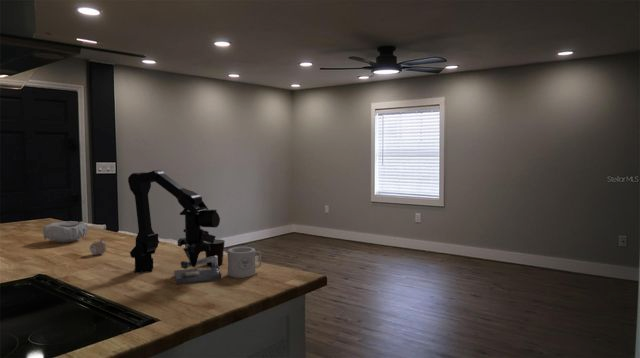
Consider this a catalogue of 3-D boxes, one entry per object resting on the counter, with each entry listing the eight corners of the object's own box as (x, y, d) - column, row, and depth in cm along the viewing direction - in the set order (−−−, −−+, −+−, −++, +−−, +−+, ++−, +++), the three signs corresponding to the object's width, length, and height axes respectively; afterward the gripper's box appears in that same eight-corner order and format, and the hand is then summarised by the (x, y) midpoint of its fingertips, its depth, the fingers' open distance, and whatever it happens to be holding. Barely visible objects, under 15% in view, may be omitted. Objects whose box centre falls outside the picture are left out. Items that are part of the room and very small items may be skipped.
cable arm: (184, 275, 169) (184, 262, 168) (181, 274, 171) (181, 261, 170) (219, 267, 180) (218, 255, 180) (215, 266, 182) (215, 254, 182)
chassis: (177, 284, 160) (176, 278, 160) (174, 275, 171) (174, 270, 171) (221, 279, 167) (221, 273, 166) (216, 271, 178) (215, 265, 177)
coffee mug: (219, 267, 183) (219, 243, 182) (200, 266, 185) (200, 243, 184) (230, 260, 194) (230, 238, 194) (212, 259, 196) (212, 237, 195)
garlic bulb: (92, 257, 201) (91, 239, 200) (88, 254, 205) (88, 237, 205) (108, 254, 205) (107, 237, 204) (104, 252, 210) (103, 235, 209)
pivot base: (210, 271, 178) (210, 270, 178) (209, 268, 181) (209, 267, 181) (220, 270, 179) (220, 269, 179) (218, 267, 183) (218, 266, 183)
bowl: (76, 236, 248) (76, 218, 247) (95, 240, 236) (94, 222, 235) (36, 242, 231) (35, 223, 230) (54, 247, 219) (53, 227, 218)
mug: (232, 279, 166) (231, 253, 165) (224, 272, 176) (224, 248, 175) (266, 275, 172) (265, 250, 172) (256, 268, 182) (256, 244, 181)
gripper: (222, 227, 167) (223, 268, 168) (203, 222, 182) (204, 259, 183) (194, 230, 161) (195, 272, 161) (176, 224, 175) (177, 263, 176)
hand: (193, 266), depth 170 cm, fingers closed
